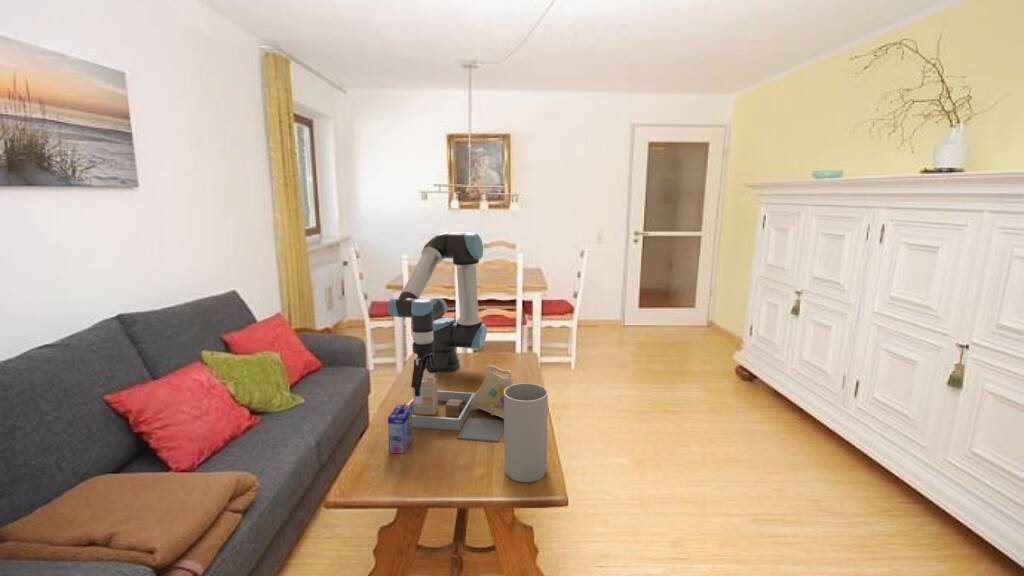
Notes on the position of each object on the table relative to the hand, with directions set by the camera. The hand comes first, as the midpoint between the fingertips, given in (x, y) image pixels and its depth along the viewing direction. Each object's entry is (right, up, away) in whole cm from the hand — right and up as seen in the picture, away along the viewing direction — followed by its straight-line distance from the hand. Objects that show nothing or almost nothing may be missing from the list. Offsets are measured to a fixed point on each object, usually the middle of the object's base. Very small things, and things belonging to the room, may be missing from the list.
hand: (425, 396), depth 173 cm
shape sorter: (+28, -7, 0) cm, 29 cm away
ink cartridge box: (-4, -11, -22) cm, 25 cm away
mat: (+22, -9, -12) cm, 27 cm away
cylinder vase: (+37, -14, -36) cm, 53 cm away
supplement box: (0, -7, +2) cm, 7 cm away
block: (+11, -7, 0) cm, 13 cm away
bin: (+5, -7, +1) cm, 8 cm away
